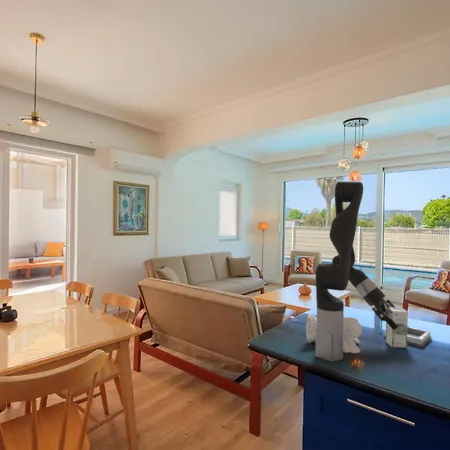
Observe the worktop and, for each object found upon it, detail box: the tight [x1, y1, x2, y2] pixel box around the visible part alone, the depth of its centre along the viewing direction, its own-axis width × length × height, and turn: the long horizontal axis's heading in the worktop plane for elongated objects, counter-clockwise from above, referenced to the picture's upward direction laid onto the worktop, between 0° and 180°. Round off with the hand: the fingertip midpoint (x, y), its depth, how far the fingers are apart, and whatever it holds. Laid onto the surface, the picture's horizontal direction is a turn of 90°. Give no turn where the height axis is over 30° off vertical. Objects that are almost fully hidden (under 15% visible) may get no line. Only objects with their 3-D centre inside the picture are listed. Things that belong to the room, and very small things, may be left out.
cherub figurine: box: [305, 313, 363, 354], centre depth 120 cm, size 13×12×20 cm
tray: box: [383, 326, 432, 348], centre depth 128 cm, size 14×14×3 cm
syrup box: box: [385, 307, 409, 349], centre depth 120 cm, size 6×6×14 cm
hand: (399, 326), depth 119 cm, fingers open, 8 cm apart
